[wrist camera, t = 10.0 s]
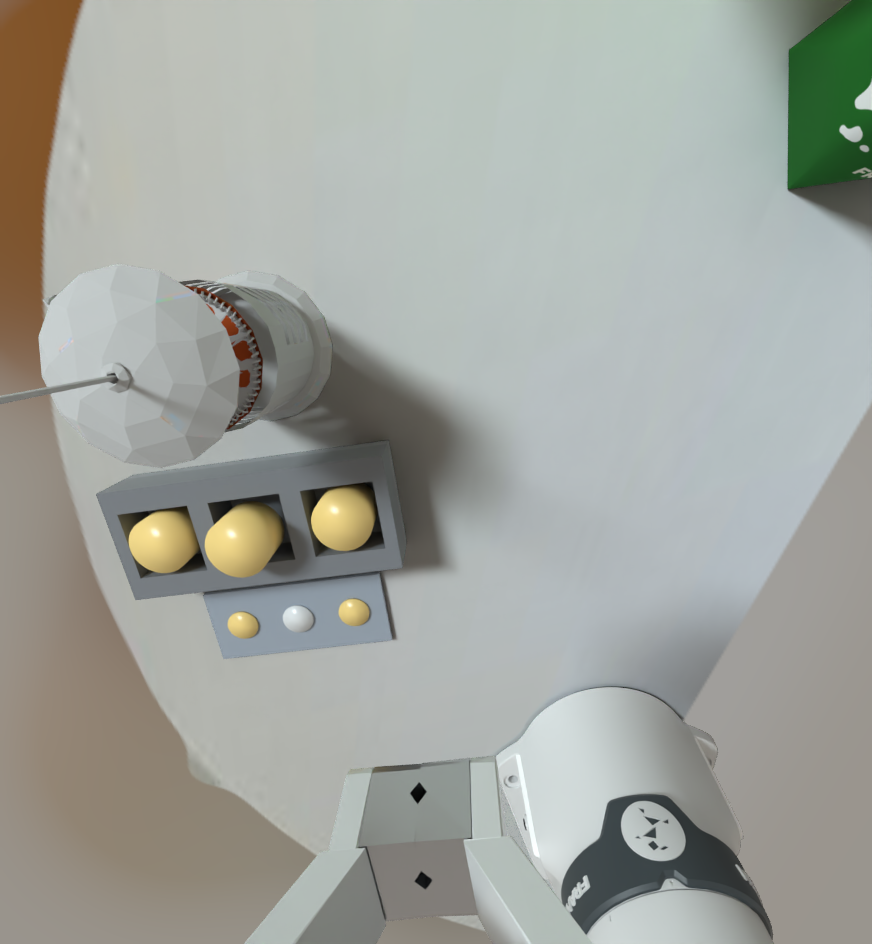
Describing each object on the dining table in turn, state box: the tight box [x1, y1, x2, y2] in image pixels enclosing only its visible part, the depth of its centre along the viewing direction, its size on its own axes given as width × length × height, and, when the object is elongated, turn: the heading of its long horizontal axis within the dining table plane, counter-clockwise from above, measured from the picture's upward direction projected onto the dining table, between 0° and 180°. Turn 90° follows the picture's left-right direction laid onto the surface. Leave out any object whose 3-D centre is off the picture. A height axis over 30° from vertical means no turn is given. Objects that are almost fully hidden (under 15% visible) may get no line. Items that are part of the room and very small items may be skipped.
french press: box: [0, 264, 333, 468], centre depth 21 cm, size 10×12×25 cm
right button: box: [311, 483, 378, 551], centre depth 33 cm, size 4×4×3 cm
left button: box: [129, 506, 200, 573], centre depth 34 cm, size 4×4×3 cm
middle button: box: [205, 501, 285, 578], centre depth 32 cm, size 4×4×3 cm
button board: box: [96, 440, 407, 659], centre depth 36 cm, size 16×19×4 cm
